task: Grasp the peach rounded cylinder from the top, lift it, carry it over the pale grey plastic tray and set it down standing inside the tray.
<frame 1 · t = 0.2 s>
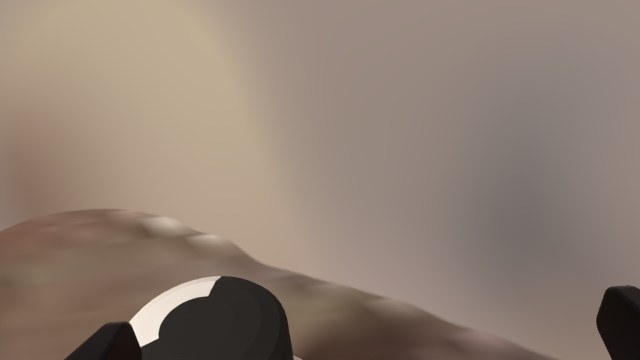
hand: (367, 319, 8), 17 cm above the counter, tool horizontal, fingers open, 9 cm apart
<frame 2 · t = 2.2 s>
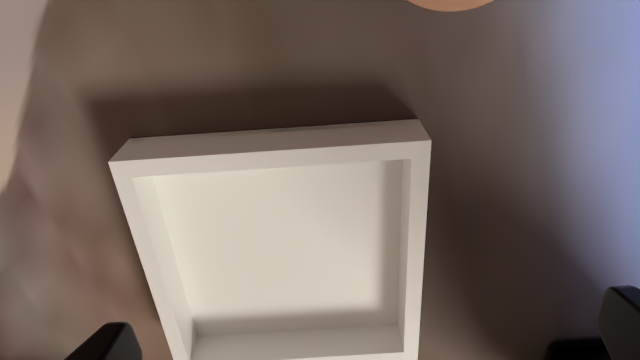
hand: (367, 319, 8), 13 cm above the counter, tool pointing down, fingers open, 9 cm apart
tray: (287, 245, 24), on the counter
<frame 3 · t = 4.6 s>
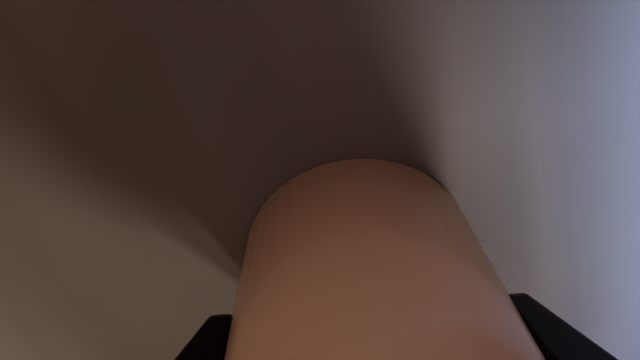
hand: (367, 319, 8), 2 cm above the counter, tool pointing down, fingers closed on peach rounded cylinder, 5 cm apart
peach rounded cylinder: (357, 257, 10), on the counter, touching gripper
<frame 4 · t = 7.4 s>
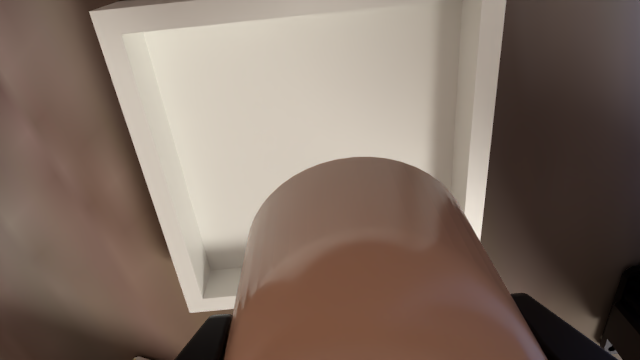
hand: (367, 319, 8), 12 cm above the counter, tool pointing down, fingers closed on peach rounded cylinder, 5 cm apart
tray: (316, 147, 19), on the counter
peach rounded cylinder: (357, 255, 10), point 10 cm above the counter, touching gripper
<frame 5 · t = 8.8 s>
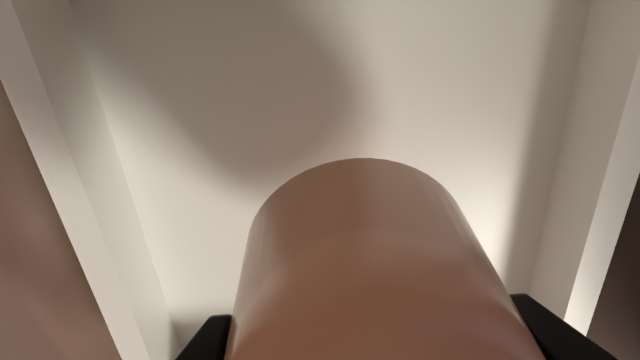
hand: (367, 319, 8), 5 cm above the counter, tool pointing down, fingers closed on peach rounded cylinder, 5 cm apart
tray: (342, 181, 13), on the counter
peach rounded cylinder: (357, 256, 10), point 3 cm above the counter, touching gripper
when the fingers open (3 cm above the counter, at t = 10.0 s): peach rounded cylinder stays where it is, resting on tray.
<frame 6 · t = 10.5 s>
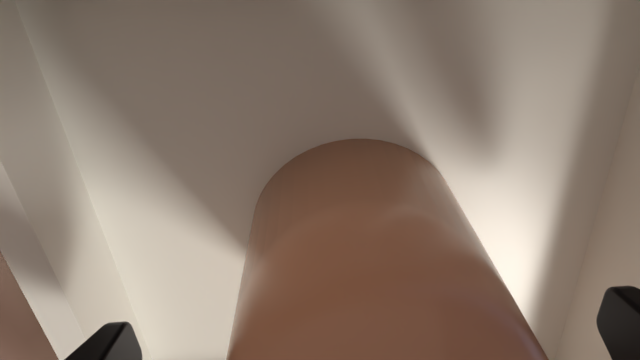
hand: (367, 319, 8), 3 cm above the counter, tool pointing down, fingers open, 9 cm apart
tray: (350, 221, 11), on the counter
peach rounded cylinder: (354, 231, 11), resting on tray
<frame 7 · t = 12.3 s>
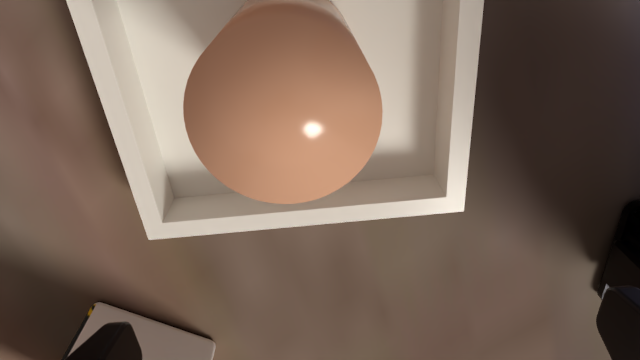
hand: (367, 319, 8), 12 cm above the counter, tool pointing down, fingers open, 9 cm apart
tray: (288, 52, 18), on the counter
peach rounded cylinder: (289, 54, 17), resting on tray
medicine bottle: (139, 354, 26), on the counter
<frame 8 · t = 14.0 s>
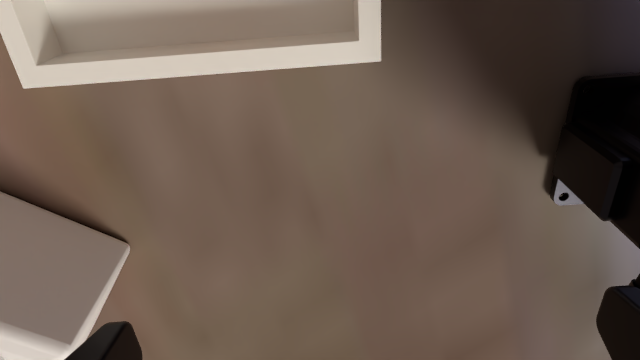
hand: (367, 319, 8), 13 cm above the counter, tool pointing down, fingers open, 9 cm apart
medicine bottle: (50, 259, 24), on the counter
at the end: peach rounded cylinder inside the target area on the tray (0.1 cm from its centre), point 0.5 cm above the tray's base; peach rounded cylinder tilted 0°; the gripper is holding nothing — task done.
